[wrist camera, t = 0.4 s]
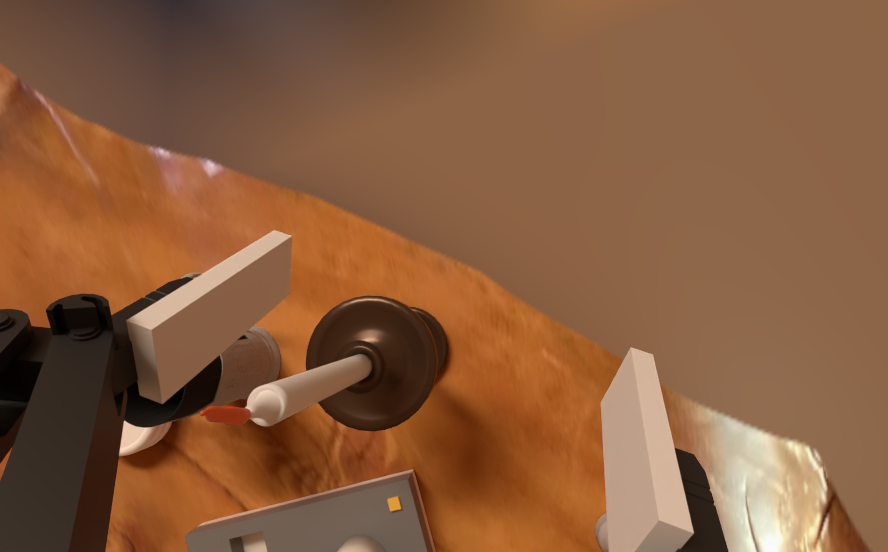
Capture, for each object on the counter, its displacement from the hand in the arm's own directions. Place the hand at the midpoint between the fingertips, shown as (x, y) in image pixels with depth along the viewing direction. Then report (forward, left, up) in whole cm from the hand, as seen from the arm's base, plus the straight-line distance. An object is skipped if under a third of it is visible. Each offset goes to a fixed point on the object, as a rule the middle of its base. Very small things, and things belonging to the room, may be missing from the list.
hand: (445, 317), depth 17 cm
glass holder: (+4, +27, -33) cm, 44 cm away
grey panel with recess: (-22, +25, -33) cm, 47 cm away
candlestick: (-2, +9, -33) cm, 35 cm away
